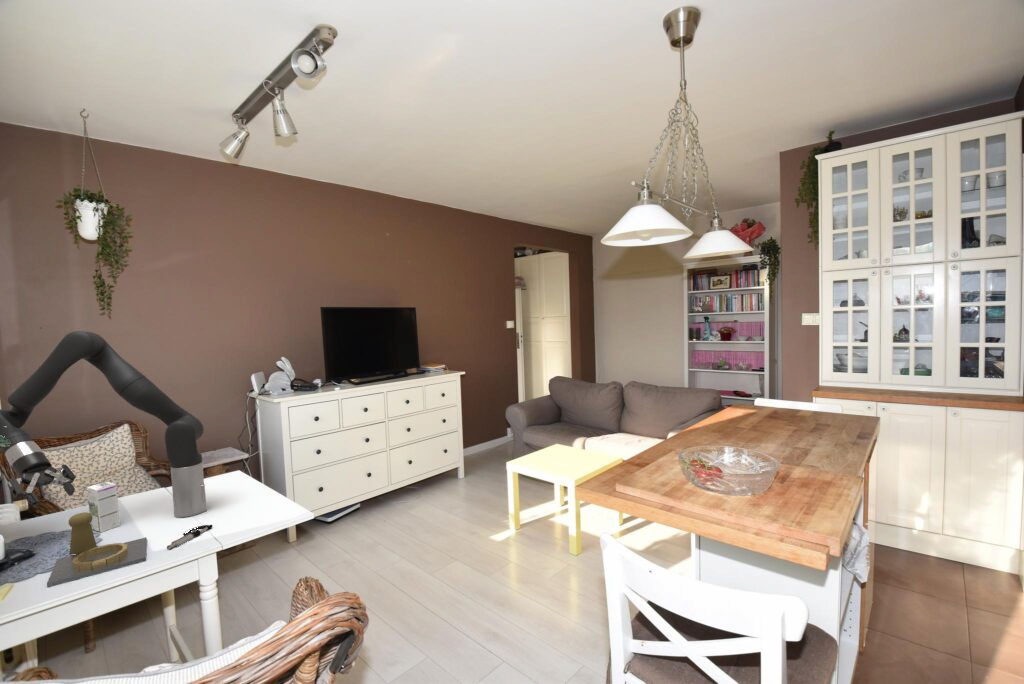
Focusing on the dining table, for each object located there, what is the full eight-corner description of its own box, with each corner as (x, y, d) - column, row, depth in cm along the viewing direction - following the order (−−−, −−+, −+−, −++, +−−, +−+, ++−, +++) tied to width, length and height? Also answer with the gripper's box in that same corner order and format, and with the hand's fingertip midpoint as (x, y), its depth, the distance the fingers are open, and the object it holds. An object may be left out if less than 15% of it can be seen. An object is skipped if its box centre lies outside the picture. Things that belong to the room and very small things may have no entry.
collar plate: (146, 540, 146) (146, 532, 146) (145, 560, 133) (145, 552, 133) (57, 562, 134) (56, 553, 134) (47, 587, 121) (46, 577, 121)
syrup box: (120, 525, 158) (117, 482, 157) (99, 533, 152) (95, 489, 151) (111, 522, 160) (107, 480, 159) (90, 530, 155) (86, 486, 154)
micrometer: (198, 527, 155) (197, 519, 155) (215, 528, 153) (214, 521, 153) (152, 549, 141) (152, 541, 141) (171, 551, 139) (170, 543, 139)
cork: (80, 546, 144) (77, 510, 143) (102, 544, 144) (99, 509, 143) (63, 556, 138) (60, 519, 137) (86, 554, 138) (82, 517, 137)
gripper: (1, 458, 139) (29, 500, 136) (60, 445, 152) (87, 483, 149) (-8, 475, 141) (20, 516, 138) (51, 460, 154) (77, 498, 151)
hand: (55, 499), depth 143 cm, fingers open, 8 cm apart
